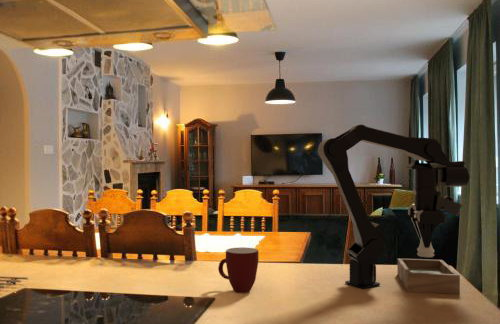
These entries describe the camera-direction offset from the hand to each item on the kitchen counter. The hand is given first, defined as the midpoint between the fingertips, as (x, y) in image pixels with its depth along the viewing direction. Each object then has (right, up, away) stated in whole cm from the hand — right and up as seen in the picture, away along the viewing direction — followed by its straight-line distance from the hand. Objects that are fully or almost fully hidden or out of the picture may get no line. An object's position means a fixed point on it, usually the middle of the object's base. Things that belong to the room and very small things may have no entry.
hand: (425, 246), depth 123 cm
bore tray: (0, -10, 0) cm, 10 cm away
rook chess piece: (0, -3, 0) cm, 3 cm away
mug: (-49, -10, -7) cm, 50 cm away
